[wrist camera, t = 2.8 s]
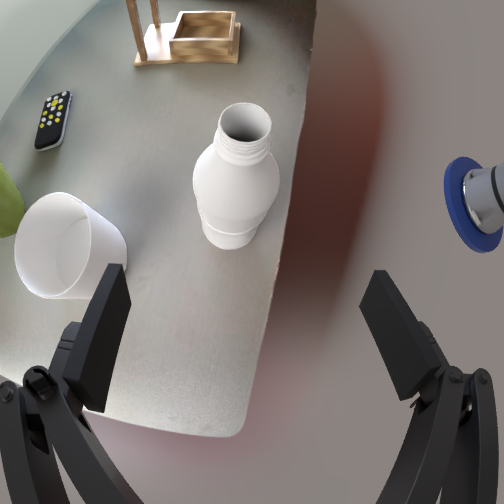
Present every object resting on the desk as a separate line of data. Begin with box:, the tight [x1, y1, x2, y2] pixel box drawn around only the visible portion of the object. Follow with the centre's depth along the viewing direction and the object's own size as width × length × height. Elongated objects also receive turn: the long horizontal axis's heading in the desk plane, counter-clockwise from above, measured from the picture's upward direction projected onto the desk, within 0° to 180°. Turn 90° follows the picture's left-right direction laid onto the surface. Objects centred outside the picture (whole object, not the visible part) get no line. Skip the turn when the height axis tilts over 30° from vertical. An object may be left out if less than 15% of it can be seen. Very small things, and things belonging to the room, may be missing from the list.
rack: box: [126, 0, 241, 66], centre depth 33 cm, size 20×15×21 cm
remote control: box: [35, 91, 72, 151], centre depth 37 cm, size 6×13×2 cm, turn 8°
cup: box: [14, 192, 127, 299], centre depth 30 cm, size 12×12×12 cm
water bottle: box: [193, 102, 280, 250], centre depth 27 cm, size 7×7×25 cm
